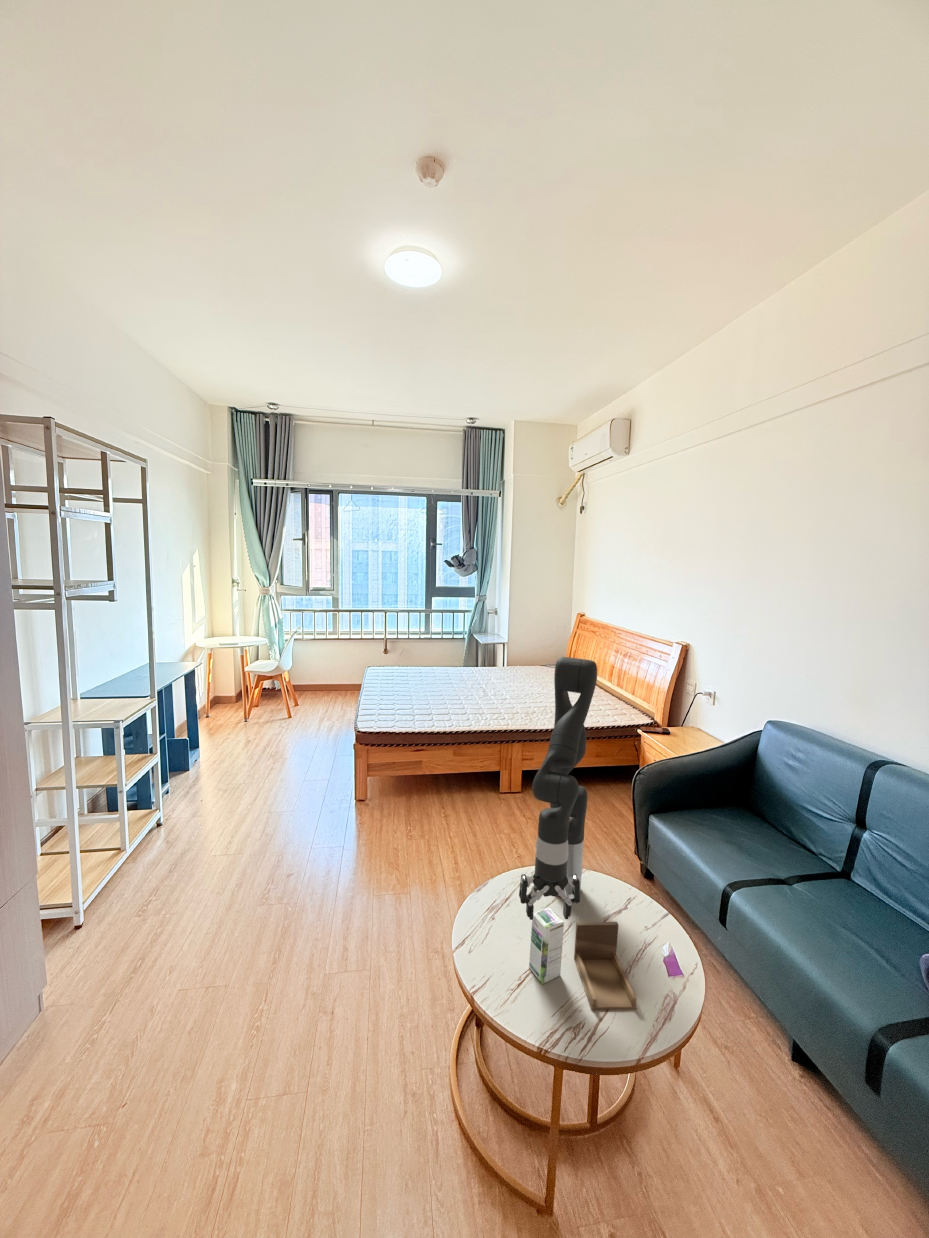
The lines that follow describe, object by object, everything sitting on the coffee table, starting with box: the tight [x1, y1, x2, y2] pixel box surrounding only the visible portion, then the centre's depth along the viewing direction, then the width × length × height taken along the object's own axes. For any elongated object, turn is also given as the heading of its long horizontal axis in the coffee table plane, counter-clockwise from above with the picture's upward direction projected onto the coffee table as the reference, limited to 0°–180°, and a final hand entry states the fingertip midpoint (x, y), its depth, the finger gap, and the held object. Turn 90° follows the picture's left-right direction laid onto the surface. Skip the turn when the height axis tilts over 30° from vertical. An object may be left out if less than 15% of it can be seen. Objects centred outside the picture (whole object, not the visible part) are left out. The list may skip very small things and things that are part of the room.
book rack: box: [573, 921, 637, 1011], centre depth 116 cm, size 14×10×10 cm
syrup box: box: [528, 907, 565, 985], centre depth 118 cm, size 6×6×14 cm
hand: (548, 917), depth 117 cm, fingers open, 8 cm apart
